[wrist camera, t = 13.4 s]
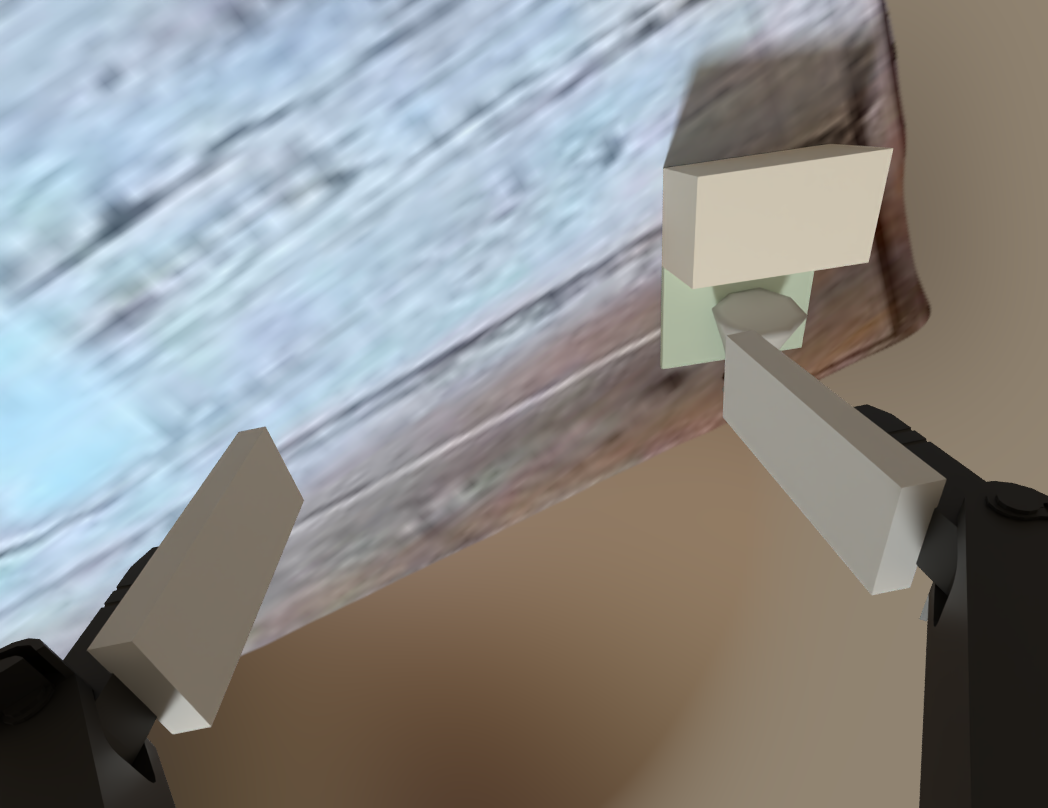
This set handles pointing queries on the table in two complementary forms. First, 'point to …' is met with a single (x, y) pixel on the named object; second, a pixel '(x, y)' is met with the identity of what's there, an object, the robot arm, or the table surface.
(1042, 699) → the robot arm
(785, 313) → the flask
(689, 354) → the mat
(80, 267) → the table surface
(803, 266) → the block
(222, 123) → the table surface
